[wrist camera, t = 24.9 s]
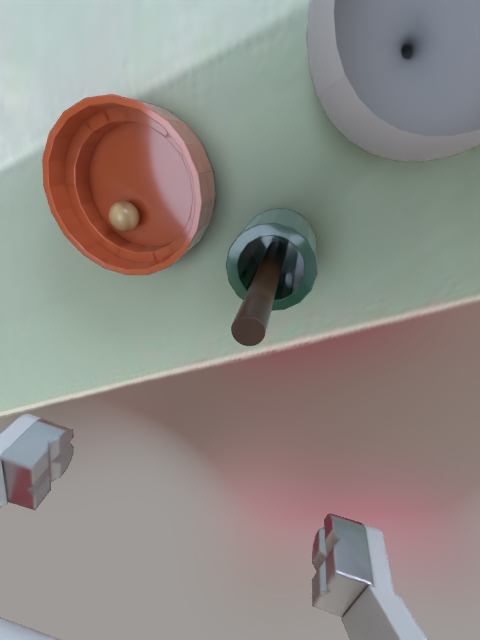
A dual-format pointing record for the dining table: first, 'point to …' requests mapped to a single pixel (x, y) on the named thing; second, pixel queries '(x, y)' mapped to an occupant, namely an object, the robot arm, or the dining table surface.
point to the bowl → (128, 182)
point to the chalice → (399, 74)
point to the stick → (259, 298)
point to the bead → (124, 216)
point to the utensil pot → (296, 264)
